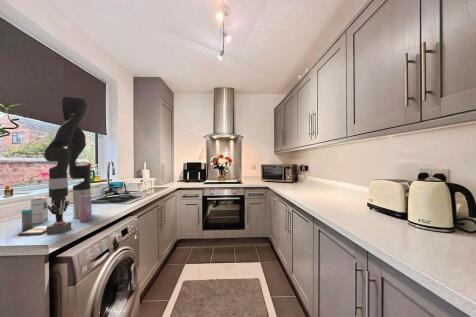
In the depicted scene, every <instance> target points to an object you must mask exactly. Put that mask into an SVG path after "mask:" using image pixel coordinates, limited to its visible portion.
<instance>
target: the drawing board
mask: <svg viewBox="0 0 476 317" xmlns="http://www.w3.org/2000/svg"><path fill="white" fill-rule="evenodd" d="M47 226H48V225H38V226H35V227H33V228H32V229H29V230H27V231H22V232H20V233H18V234H17V236H18V237H22V236H25V237H26V236H42V235H44V234H47Z"/></svg>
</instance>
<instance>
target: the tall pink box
mask: <svg viewBox="0 0 476 317" xmlns="http://www.w3.org/2000/svg"><path fill="white" fill-rule="evenodd" d="M92 217H93V216H92V195H80V196H79V218H78V220H79V223H87V222H90V221H92V220H93V219H92Z"/></svg>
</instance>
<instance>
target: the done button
mask: <svg viewBox="0 0 476 317" xmlns="http://www.w3.org/2000/svg"><path fill="white" fill-rule="evenodd" d="M64 222H65V220H63V221H61V222H56V221H54V222H53V224H54V226H57V225H63V224H64Z"/></svg>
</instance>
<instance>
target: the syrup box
mask: <svg viewBox="0 0 476 317" xmlns="http://www.w3.org/2000/svg"><path fill="white" fill-rule="evenodd" d="M30 209H33V212H32V220H33V224H41V223H45V222H46V221H48V220H49V214H48V213H49V209H48V196H35V197H33V198H30Z"/></svg>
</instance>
